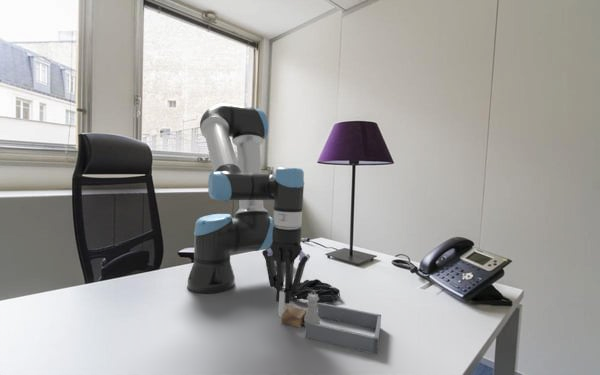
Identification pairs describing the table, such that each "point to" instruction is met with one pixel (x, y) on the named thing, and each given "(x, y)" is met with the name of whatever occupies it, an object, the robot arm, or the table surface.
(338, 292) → the cable
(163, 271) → the table surface
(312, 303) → the rook chess piece
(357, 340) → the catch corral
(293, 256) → the robot arm
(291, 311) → the walnut tile
